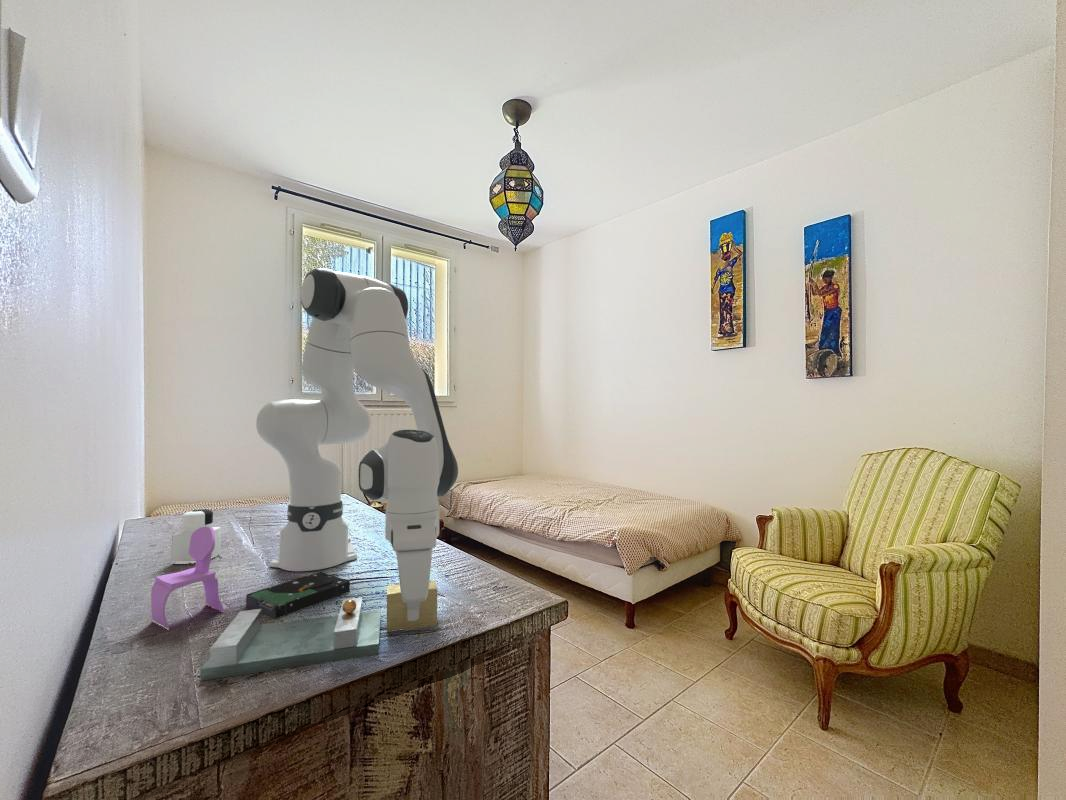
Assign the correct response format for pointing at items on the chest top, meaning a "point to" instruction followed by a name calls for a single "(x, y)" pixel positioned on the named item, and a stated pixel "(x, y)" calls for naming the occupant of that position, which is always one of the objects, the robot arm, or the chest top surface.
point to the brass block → (399, 609)
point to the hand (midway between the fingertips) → (412, 609)
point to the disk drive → (297, 594)
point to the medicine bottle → (189, 525)
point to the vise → (284, 644)
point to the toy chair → (189, 576)
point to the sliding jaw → (348, 623)
